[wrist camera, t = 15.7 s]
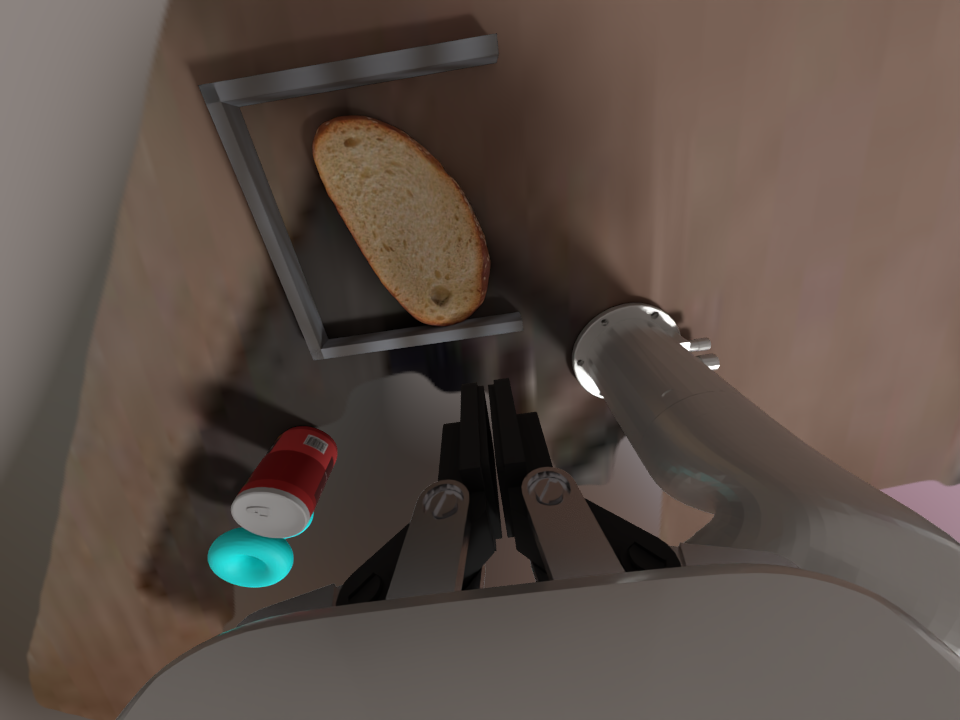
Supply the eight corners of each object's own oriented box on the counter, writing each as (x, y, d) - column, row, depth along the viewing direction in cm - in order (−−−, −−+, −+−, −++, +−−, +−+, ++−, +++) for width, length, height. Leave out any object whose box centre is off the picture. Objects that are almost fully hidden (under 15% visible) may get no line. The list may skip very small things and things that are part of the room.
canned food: (271, 424, 46) (219, 492, 36) (333, 423, 46) (298, 491, 36) (286, 467, 49) (242, 540, 40) (344, 466, 50) (314, 538, 40)
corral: (494, 43, 28) (496, 33, 26) (520, 321, 40) (523, 330, 38) (218, 91, 29) (198, 85, 27) (322, 350, 41) (313, 360, 39)
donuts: (209, 589, 46) (195, 541, 41) (250, 521, 54) (242, 475, 50) (289, 594, 47) (284, 548, 42) (317, 527, 56) (315, 483, 51)
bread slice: (312, 104, 30) (293, 96, 27) (515, 151, 32) (520, 149, 29) (316, 300, 38) (302, 313, 35) (477, 328, 41) (478, 342, 37)
